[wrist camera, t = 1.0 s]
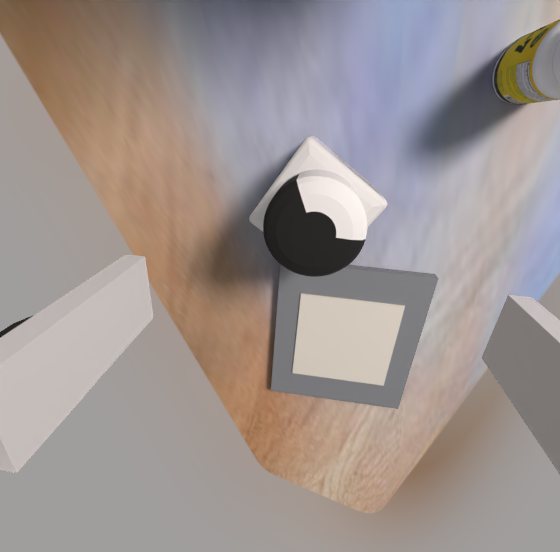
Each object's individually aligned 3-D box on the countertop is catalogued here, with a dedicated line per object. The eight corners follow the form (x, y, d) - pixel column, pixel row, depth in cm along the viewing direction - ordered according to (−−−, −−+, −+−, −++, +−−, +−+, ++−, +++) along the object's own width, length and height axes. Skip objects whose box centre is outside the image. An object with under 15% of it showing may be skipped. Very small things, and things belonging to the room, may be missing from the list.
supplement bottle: (550, 19, 24) (656, -31, 16) (563, 83, 25) (666, 64, 18) (482, 58, 25) (550, 28, 18) (498, 116, 27) (567, 111, 19)
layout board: (281, 257, 34) (280, 261, 33) (435, 274, 33) (438, 279, 32) (271, 384, 42) (270, 391, 41) (396, 402, 41) (398, 410, 40)
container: (322, 247, 33) (321, 311, 22) (262, 200, 32) (228, 242, 20) (375, 187, 30) (408, 223, 19) (311, 133, 29) (303, 136, 17)
